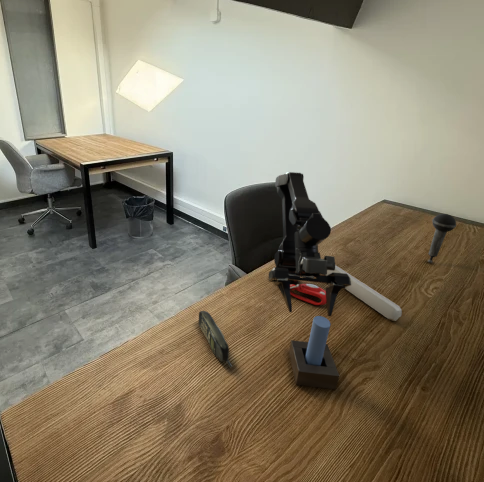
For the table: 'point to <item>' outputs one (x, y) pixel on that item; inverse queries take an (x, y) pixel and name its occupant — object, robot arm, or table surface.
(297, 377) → the stand
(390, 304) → the tube
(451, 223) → the microphone
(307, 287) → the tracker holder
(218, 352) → the mobile phone
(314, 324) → the peg
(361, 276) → the table surface
